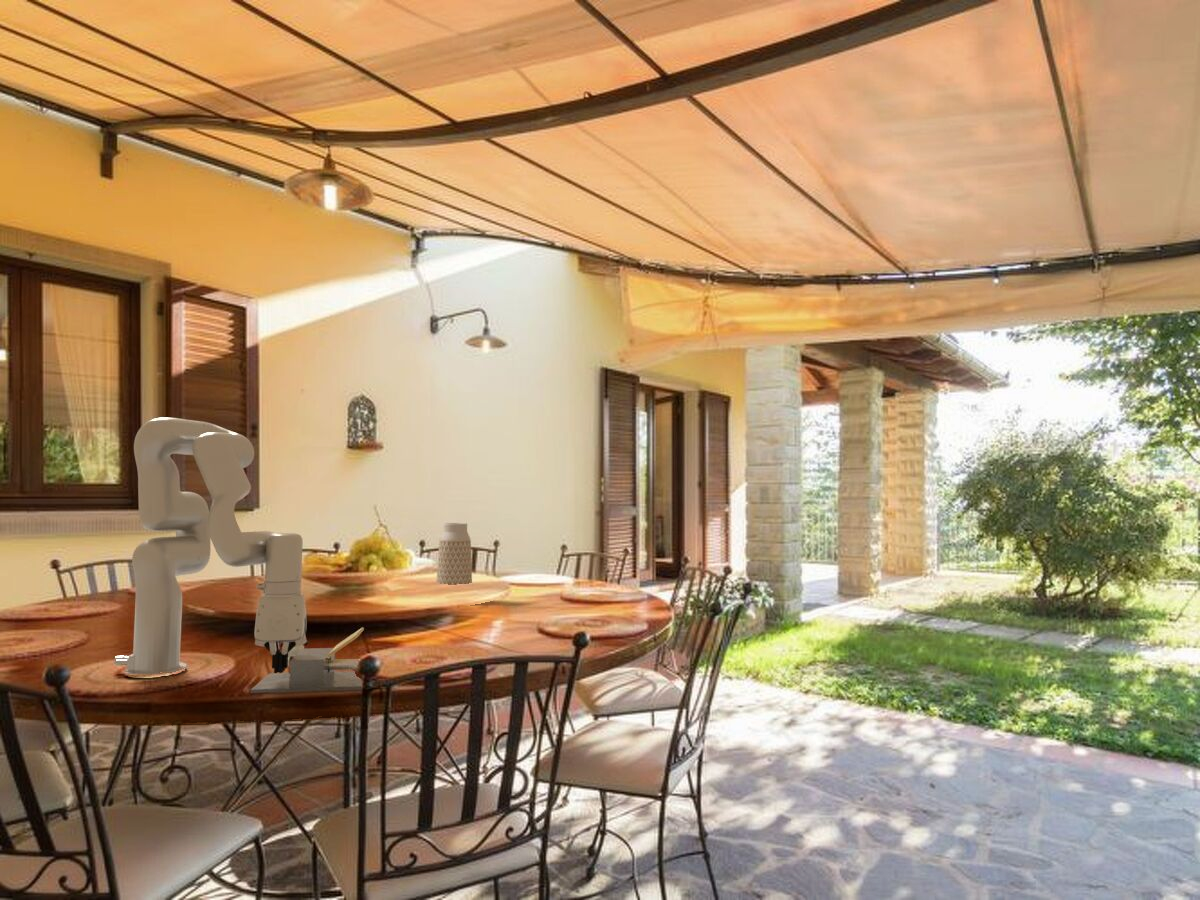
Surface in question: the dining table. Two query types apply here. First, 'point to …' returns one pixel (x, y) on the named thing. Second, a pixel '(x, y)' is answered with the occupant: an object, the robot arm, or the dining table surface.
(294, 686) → the grey base plate
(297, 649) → the valve
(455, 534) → the vase
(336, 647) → the keeper flap
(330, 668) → the pin
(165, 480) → the robot arm
